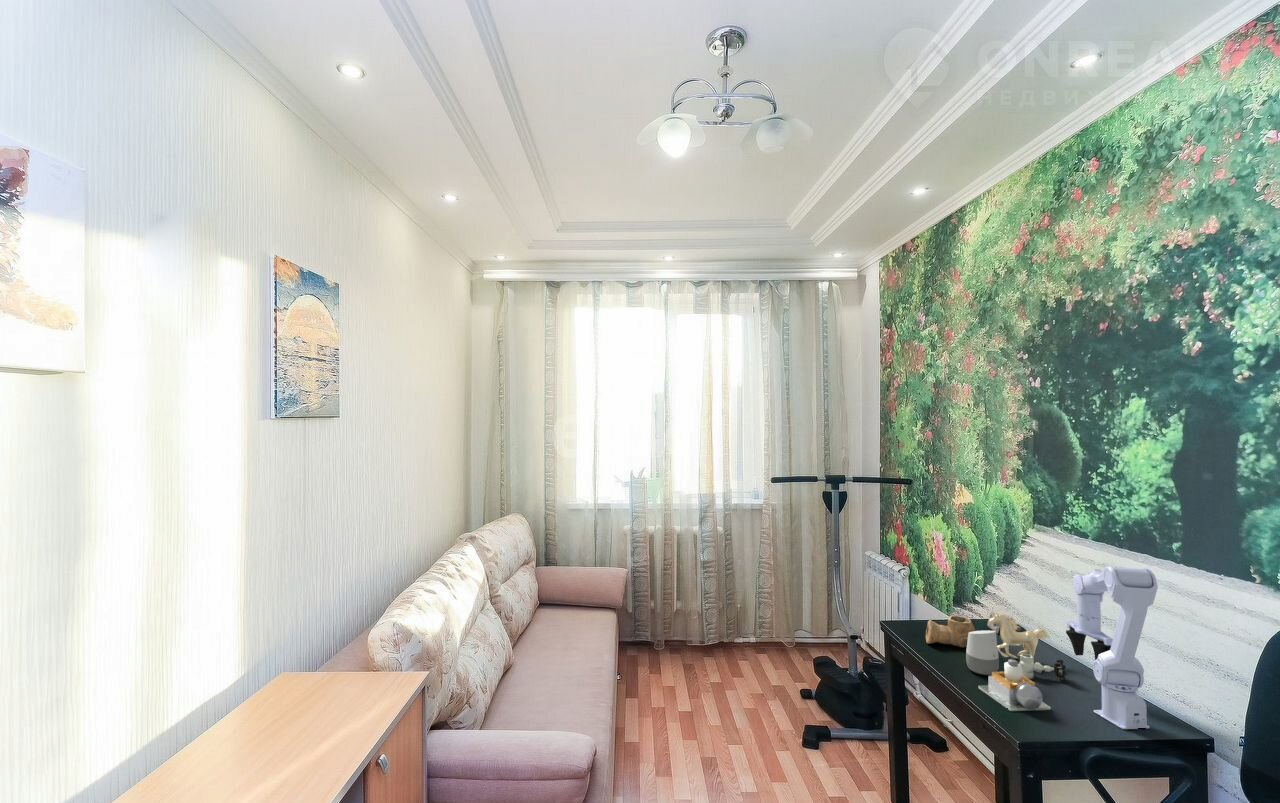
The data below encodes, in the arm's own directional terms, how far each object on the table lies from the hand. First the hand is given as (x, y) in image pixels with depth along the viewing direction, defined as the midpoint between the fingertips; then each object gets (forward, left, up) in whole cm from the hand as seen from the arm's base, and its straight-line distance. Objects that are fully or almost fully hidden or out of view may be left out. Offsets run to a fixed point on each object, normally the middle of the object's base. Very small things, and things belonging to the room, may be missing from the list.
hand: (1089, 660), depth 178 cm
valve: (+10, +8, -10) cm, 16 cm away
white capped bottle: (-3, +27, -5) cm, 27 cm away
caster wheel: (+46, -9, -10) cm, 48 cm away
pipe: (+37, +21, -10) cm, 44 cm away
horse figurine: (+23, +5, -10) cm, 25 cm away
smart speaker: (+15, +24, -10) cm, 30 cm away
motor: (-3, +27, -9) cm, 29 cm away
